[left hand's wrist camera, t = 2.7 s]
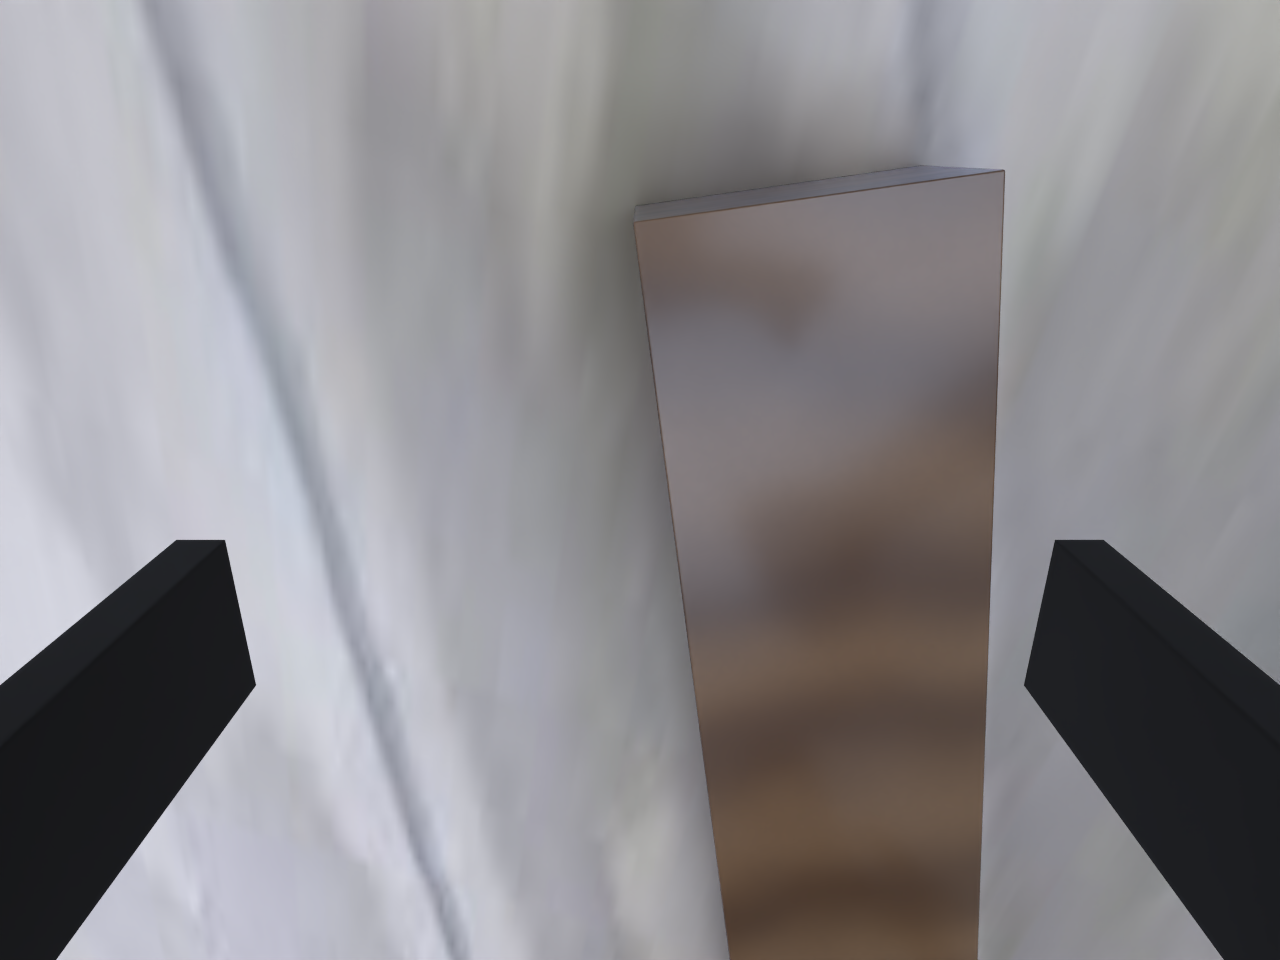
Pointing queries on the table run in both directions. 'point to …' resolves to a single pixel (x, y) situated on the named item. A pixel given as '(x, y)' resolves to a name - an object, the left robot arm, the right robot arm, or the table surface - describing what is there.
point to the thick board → (835, 544)
